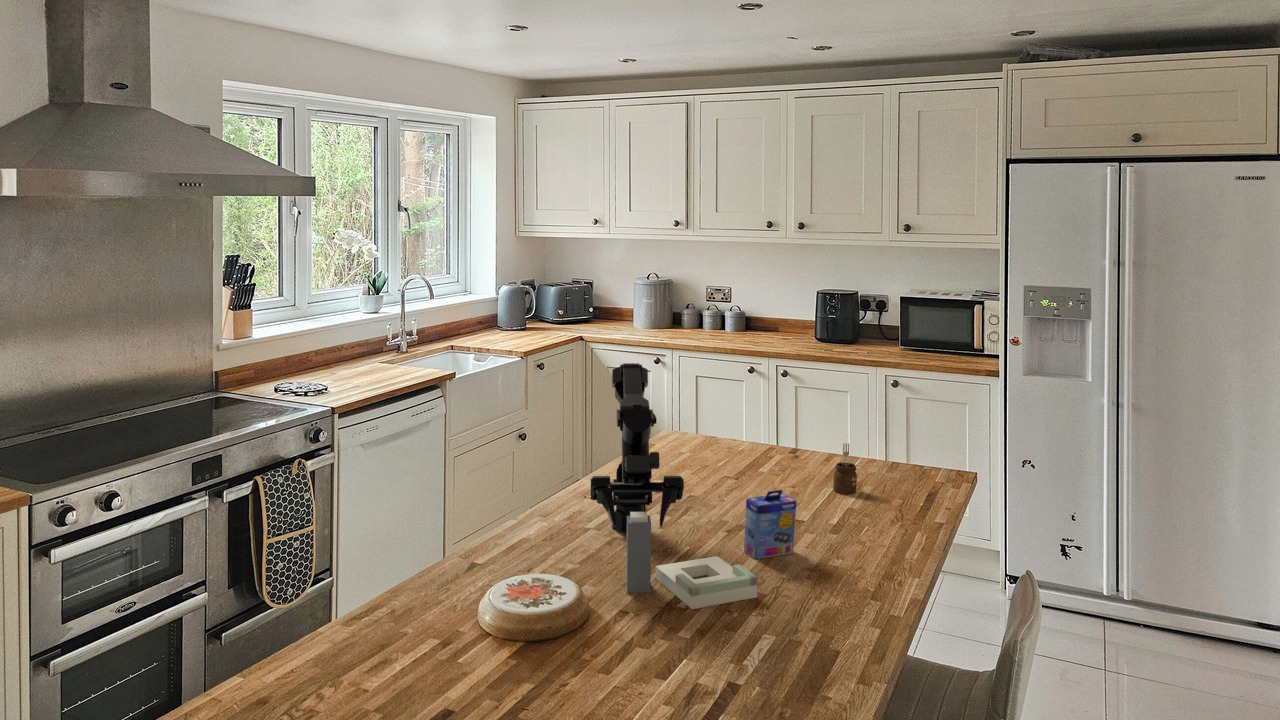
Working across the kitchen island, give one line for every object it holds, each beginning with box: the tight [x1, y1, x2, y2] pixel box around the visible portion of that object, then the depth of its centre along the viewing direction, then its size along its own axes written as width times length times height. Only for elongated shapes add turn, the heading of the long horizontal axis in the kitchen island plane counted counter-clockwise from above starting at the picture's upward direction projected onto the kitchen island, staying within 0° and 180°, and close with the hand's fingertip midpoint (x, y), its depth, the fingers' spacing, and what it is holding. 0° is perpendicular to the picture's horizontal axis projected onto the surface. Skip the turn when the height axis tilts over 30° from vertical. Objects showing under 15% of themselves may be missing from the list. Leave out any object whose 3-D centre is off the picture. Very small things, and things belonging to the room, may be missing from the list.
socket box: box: [655, 555, 759, 610], centre depth 190 cm, size 16×14×4 cm
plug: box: [625, 511, 652, 594], centre depth 189 cm, size 4×4×15 cm
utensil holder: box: [833, 442, 858, 495], centre depth 252 cm, size 6×6×12 cm
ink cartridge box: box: [743, 489, 797, 560], centre depth 208 cm, size 10×6×14 cm, turn 114°
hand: (637, 526), depth 192 cm, fingers open, 9 cm apart
